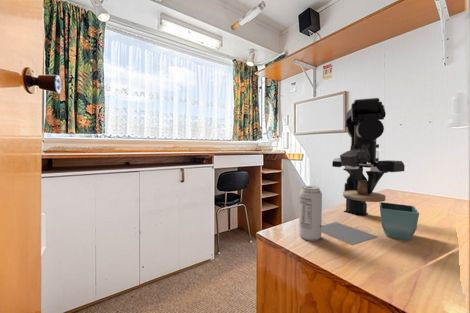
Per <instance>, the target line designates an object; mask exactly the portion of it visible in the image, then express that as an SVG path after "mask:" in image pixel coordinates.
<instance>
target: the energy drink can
mask: <svg viewBox="0 0 470 313" xmlns="http://www.w3.org/2000/svg"><path fill="white" fill-rule="evenodd" d="M320 188H321V187H319V186H316V185H303V186H301V190H300V191H299V220H298V221H299V224H298V225H299V236H300V237H301V239H302V240H306V241H309V242H310V241H311V242H315V241H319V240H320V239H321V238H322V232H321V226H322V219H323V218H322V213H323V212H322V207H323V206H322V205H323V204H322V203H323V194H322V191H321V189H320Z"/></svg>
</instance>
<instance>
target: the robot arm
mask: <svg viewBox="0 0 470 313" xmlns="http://www.w3.org/2000/svg"><path fill="white" fill-rule="evenodd" d="M386 114H387V113H386V110H385V105H384V104H383V101H380V98H379V97H373V98H371V97H370V98H360V99H359V98H358V99H354V100H353V103H351V106H350V109H349V110H348V111H347V112H346V113H345V121H344V122H345V128H346V133H347V134H348V136H349V137H350V138H351V139H350V140H351V141H350V150H348V151H345V152H343V153H341V154H339V157H337V158H336V157H335V158H333V160H332V163H331V164H332V167H334V168H341V167H344V168H343V171H346V173H348V174H349V175H348V177H347V178H346V182H344V187H343V188H344V189H343V192H344V191H350V190H356V191H357V190H358V180H366V181H368V194H371V193H372V192H374V190H375V188H376V186H377V184H378V183H379V181H380V180H381V178H382V177H383V175H385V174H387V173H399V172H400V173H401V172H405V164H404V162H403V161H402V160H391V159H389V160H388V159H387V160H384V159H383V160H379V157H377V149H379V148H380V144H378V143H377V139H379V138H380V137H381V136H382V135H383V133H384V131H385V127H384V123H383V122H382V120H383V121H384V119H385V118H386ZM364 168H370V169H369V170H366V171H365V173H366V175H367V177H366V176H365V174H364ZM343 198H344V199H345V201H346V204H345V210H343V213H347V214H350V215H353V216H357V217H362V216H365V215H368V214H369V212H368V211H367V209H368V204H367V203H366V201H358V200H352V199H348V198H346V197H344V196H343Z"/></svg>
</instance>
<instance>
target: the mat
mask: <svg viewBox="0 0 470 313" xmlns="http://www.w3.org/2000/svg"><path fill="white" fill-rule="evenodd" d="M321 234H324V235H327V236H329V237H332V238H334V239H337V240H339V241H342V242H344V243H345V244H349V245H351V246H354V245H357V244H361V243H363V242H367V241H369V240H372V239H375V238H378V237H379V236H378V235H375V234H372V233H369V232H366V231H364V230H361V229H357V228H356V227H355V228H354V227H352V226H350V225H345V224H342V223H340V222H336V221H335V222H331V223H326V224H323V225H322V224H321Z"/></svg>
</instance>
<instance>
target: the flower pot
mask: <svg viewBox="0 0 470 313" xmlns="http://www.w3.org/2000/svg"><path fill="white" fill-rule="evenodd" d="M378 203H379V213H380V223H381V227H382V230H383V232H384V234H385V236H386V237H388V238H394V239H399V240H405V241H410V240H411V239H412V238H413V236H414V235H415V233H416V231H417V227H418V223H419V216H420V212H419V210H418V209H417V208H416V206H415V205H409V204H408V205H407V204H402V203H401V204H400V203H393V202H392V203H391V202H386V201H382V202H378Z"/></svg>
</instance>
